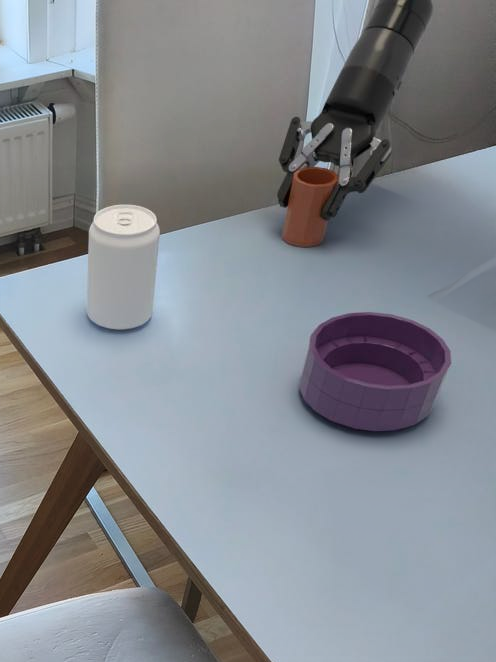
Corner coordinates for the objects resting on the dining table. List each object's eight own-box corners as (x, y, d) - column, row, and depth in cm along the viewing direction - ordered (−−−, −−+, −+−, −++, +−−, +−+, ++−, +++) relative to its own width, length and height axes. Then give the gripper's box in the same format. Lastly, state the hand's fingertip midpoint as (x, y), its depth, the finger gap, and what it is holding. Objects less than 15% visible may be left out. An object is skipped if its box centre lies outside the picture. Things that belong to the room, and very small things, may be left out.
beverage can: (83, 332, 107) (86, 235, 98) (89, 297, 112) (92, 201, 103) (150, 335, 106) (159, 237, 97) (153, 299, 111) (162, 203, 102)
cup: (299, 223, 122) (312, 162, 116) (332, 237, 119) (347, 176, 113) (272, 236, 120) (284, 175, 114) (305, 251, 117) (319, 190, 111)
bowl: (352, 345, 103) (366, 297, 99) (458, 400, 96) (479, 352, 91) (271, 393, 98) (281, 345, 93) (376, 455, 91) (394, 406, 86)
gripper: (312, 52, 112) (248, 183, 115) (421, 75, 106) (349, 213, 109) (321, 86, 118) (261, 209, 122) (425, 109, 112) (357, 238, 116)
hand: (303, 210), depth 116 cm, fingers closed on cup, 5 cm apart
